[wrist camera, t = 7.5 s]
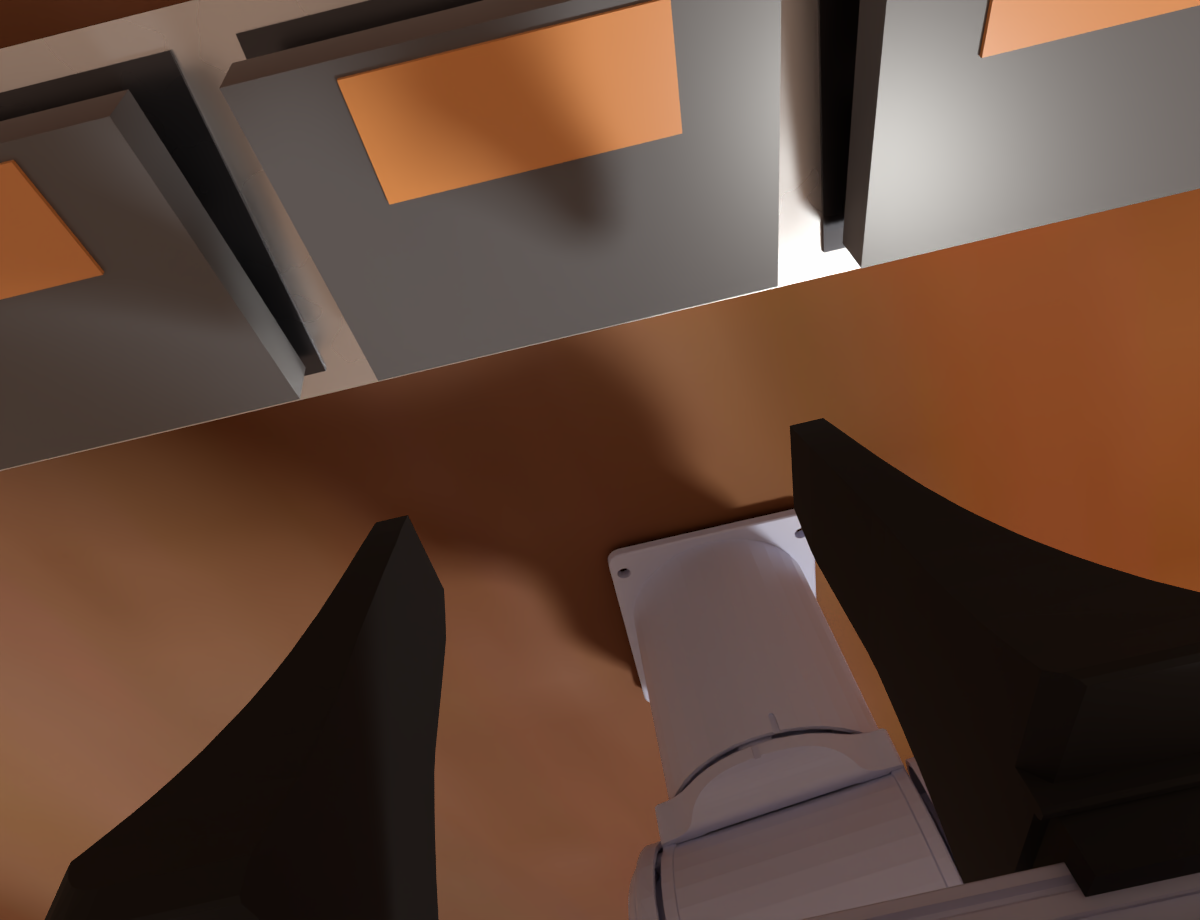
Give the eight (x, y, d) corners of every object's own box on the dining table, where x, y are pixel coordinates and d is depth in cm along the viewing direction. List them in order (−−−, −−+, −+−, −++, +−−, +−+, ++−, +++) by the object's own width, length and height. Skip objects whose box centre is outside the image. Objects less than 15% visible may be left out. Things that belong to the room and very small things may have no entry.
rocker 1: (308, 355, 19) (299, 401, 18) (-56, 441, 19) (-87, 493, 18) (135, 78, 14) (107, 118, 13) (-357, 202, 14) (-431, 252, 13)
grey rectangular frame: (1225, 140, 18) (1281, 171, 17) (835, 233, 19) (862, 270, 17) (1393, -237, 13) (1491, -232, 12) (856, -103, 14) (897, -84, 12)
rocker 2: (757, 248, 19) (779, 288, 18) (381, 338, 19) (378, 383, 18) (753, -76, 14) (783, -51, 12) (237, 53, 14) (217, 90, 13)
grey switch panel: (1178, 149, 22) (1271, 177, 19) (-12, 432, 23) (-79, 496, 20) (1289, -280, 16) (1439, -322, 14) (-282, 117, 17) (-420, 148, 15)
